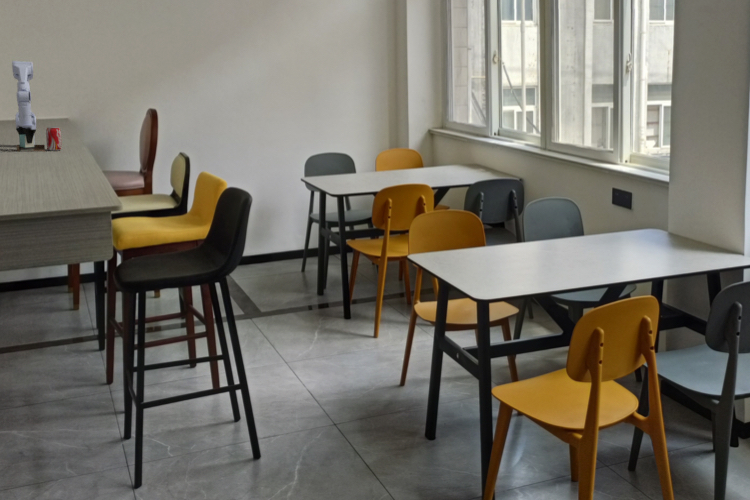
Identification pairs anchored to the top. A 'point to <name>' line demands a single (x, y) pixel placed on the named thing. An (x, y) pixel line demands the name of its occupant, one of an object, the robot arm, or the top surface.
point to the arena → (31, 148)
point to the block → (25, 141)
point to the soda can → (53, 138)
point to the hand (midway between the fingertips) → (26, 142)
